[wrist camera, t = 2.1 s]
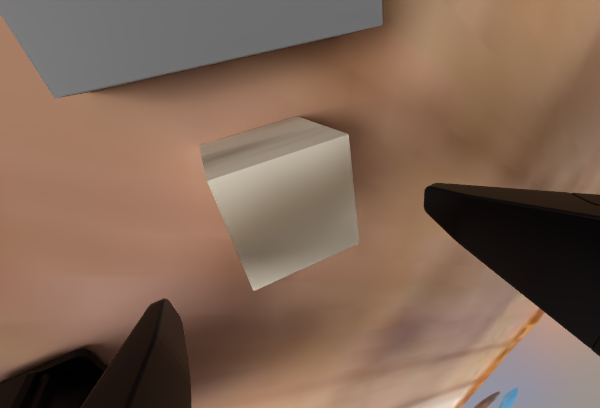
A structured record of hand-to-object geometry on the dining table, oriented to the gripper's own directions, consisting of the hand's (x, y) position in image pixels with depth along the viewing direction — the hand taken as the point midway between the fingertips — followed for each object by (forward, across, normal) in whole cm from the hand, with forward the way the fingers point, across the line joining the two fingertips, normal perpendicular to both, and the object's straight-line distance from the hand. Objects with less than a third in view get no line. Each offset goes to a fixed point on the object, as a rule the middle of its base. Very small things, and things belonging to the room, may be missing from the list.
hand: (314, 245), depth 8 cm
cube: (+7, 0, 0) cm, 7 cm away
